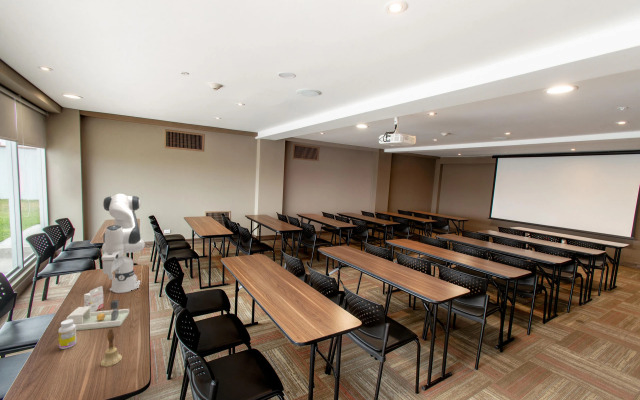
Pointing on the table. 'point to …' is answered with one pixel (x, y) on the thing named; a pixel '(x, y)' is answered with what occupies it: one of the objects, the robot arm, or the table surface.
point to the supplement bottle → (67, 334)
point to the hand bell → (111, 352)
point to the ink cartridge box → (94, 299)
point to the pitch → (95, 318)
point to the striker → (114, 309)
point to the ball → (100, 316)
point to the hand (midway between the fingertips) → (114, 275)
